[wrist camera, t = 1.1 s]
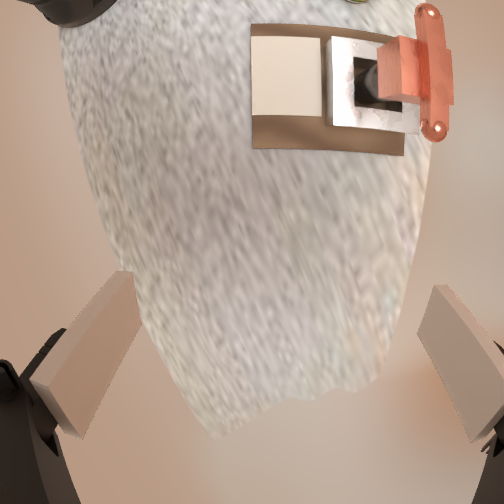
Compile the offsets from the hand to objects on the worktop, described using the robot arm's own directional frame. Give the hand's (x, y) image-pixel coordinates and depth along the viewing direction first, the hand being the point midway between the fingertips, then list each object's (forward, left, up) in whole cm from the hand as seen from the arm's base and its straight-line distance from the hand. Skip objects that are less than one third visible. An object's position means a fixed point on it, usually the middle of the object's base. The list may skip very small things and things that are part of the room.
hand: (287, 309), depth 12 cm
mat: (-13, +1, -26) cm, 29 cm away
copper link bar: (-12, +11, -26) cm, 31 cm away
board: (-12, +7, -27) cm, 30 cm away
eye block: (-12, +11, -26) cm, 31 cm away
